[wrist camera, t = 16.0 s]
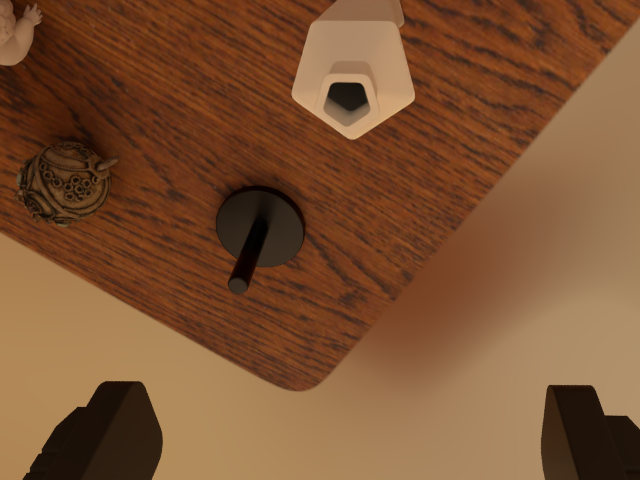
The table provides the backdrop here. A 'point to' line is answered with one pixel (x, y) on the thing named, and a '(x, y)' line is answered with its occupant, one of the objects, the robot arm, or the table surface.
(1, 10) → the figurine
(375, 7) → the perfume bottle
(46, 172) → the pendant
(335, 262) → the table surface
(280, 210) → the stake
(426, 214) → the table surface
